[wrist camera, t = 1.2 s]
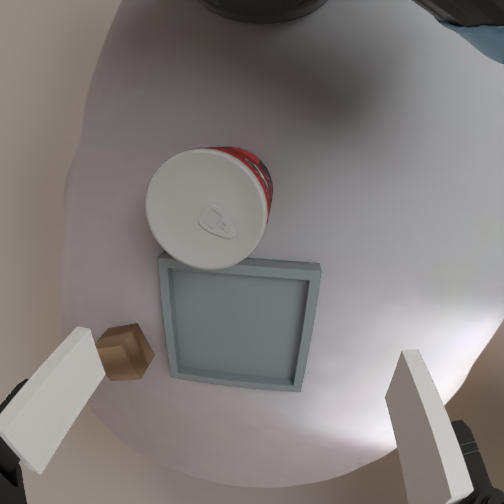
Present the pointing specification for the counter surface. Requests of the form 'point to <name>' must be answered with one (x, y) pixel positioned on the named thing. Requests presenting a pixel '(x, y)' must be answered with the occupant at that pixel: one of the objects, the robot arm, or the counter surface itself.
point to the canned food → (209, 206)
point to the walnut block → (124, 352)
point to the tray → (239, 321)
